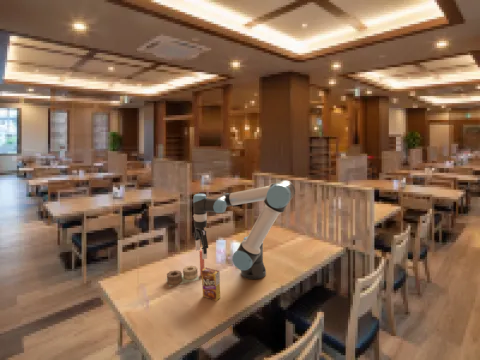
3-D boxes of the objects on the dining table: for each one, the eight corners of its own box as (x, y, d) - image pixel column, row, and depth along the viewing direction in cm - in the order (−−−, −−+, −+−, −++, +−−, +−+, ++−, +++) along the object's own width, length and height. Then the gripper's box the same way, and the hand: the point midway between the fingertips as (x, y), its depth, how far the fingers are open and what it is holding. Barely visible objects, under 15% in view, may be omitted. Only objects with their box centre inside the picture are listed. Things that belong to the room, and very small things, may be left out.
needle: (204, 274, 180) (203, 249, 178) (205, 276, 178) (204, 251, 175) (200, 275, 179) (198, 250, 177) (201, 277, 177) (200, 252, 174)
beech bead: (195, 272, 183) (194, 264, 182) (198, 277, 175) (198, 270, 175) (182, 275, 179) (182, 267, 179) (185, 280, 172) (185, 272, 171)
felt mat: (195, 272, 183) (195, 272, 183) (199, 280, 174) (199, 279, 174) (165, 279, 175) (165, 278, 175) (169, 287, 166) (169, 286, 166)
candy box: (202, 297, 156) (201, 270, 153) (206, 293, 159) (205, 266, 157) (216, 301, 151) (215, 273, 149) (220, 297, 155) (219, 270, 152)
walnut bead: (179, 277, 177) (179, 269, 176) (183, 283, 170) (182, 275, 169) (166, 280, 173) (165, 272, 173) (169, 286, 166) (168, 278, 165)
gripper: (188, 215, 183) (189, 247, 186) (200, 227, 160) (201, 263, 164) (200, 214, 186) (201, 245, 189) (213, 225, 163) (214, 261, 167)
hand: (201, 254), depth 176 cm, fingers open, 13 cm apart
